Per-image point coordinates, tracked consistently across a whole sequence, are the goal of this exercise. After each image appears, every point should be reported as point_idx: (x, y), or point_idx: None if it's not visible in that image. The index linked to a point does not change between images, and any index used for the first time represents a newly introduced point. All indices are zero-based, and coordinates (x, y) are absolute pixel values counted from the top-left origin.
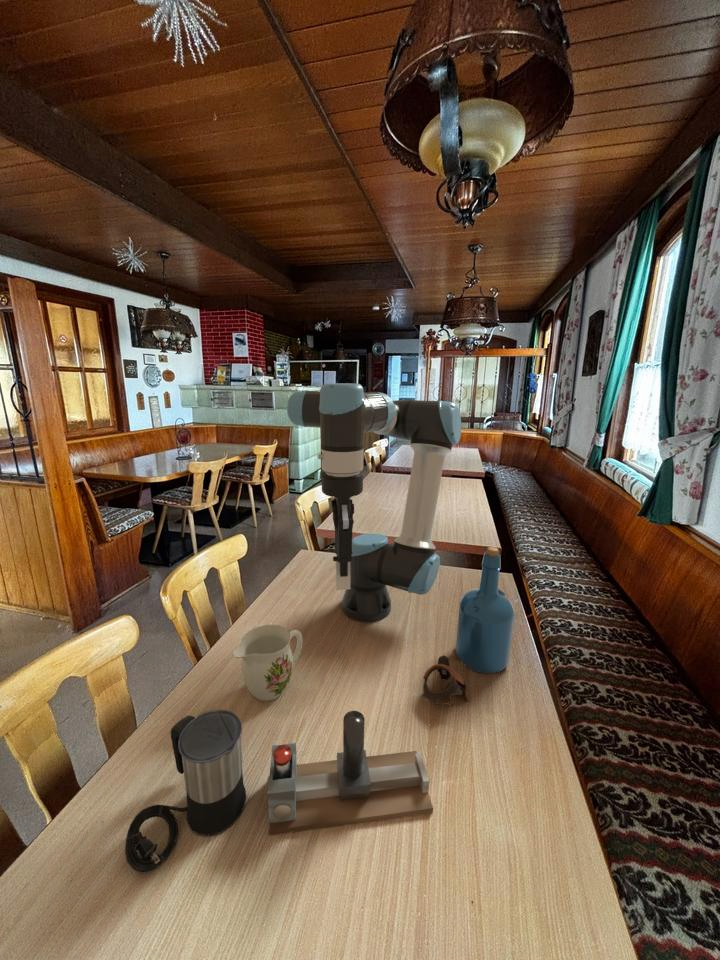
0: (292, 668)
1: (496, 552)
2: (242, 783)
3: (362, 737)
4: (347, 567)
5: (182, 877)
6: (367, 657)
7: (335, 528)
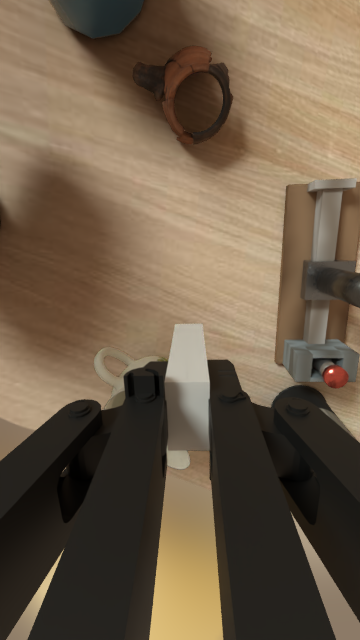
0: (153, 359)
1: None
2: (310, 399)
3: None
4: (239, 383)
5: (352, 423)
6: (97, 230)
7: (18, 612)
